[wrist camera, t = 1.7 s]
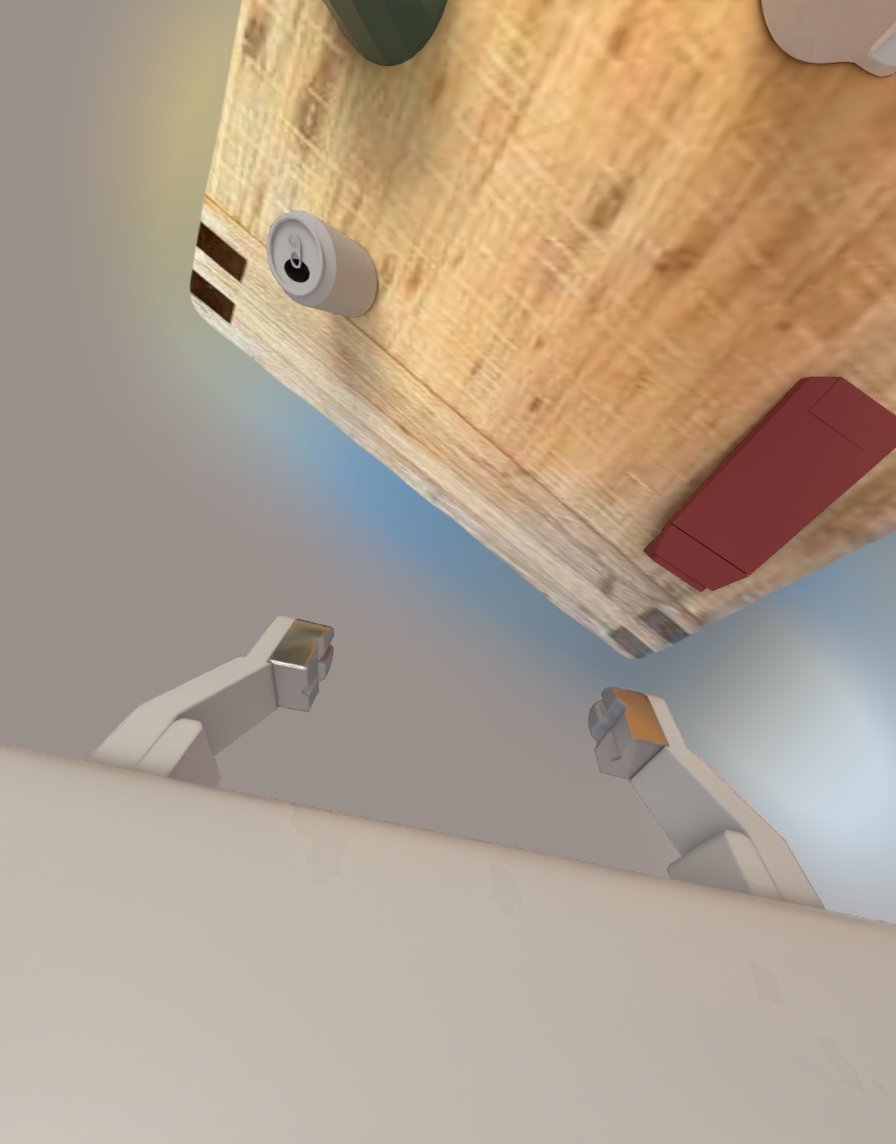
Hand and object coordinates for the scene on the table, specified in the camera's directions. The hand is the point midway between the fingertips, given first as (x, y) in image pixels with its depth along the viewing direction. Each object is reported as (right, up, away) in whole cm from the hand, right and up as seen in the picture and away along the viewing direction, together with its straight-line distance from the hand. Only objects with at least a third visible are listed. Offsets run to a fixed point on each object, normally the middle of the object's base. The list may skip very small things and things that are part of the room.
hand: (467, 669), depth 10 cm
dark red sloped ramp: (+37, +13, +34) cm, 52 cm away
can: (-13, +40, +34) cm, 54 cm away
